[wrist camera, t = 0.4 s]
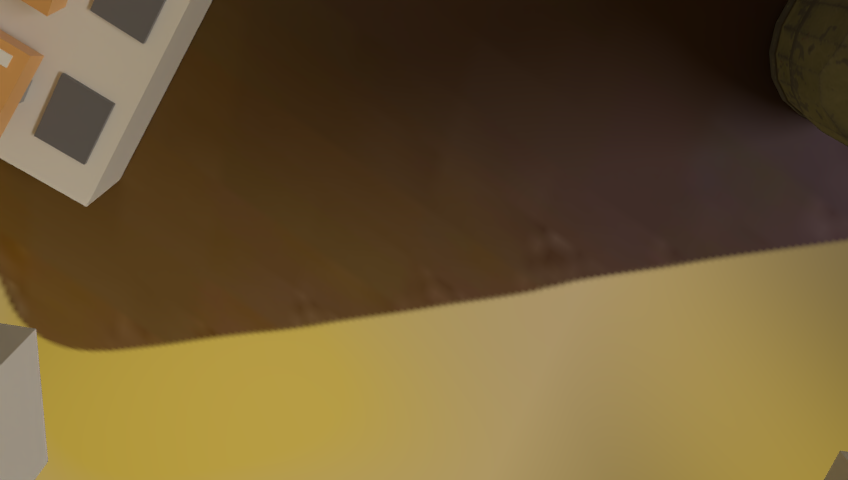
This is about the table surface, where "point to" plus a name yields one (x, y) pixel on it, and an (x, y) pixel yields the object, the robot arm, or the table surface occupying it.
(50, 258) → the table surface
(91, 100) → the power strip
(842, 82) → the stone tower
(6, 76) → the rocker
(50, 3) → the orange block
